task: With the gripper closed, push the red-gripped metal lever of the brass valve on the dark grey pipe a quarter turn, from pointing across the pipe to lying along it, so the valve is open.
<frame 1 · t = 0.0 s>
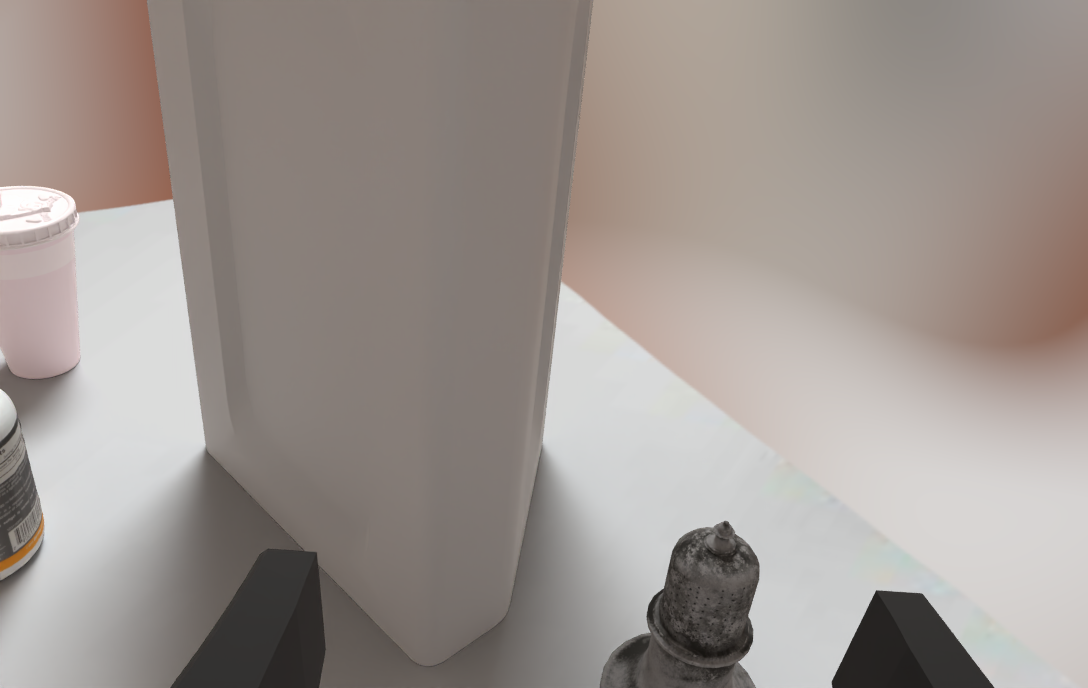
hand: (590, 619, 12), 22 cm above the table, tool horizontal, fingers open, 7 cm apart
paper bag: (423, 482, 47), on the table
smoothie: (46, 364, 53), on the table
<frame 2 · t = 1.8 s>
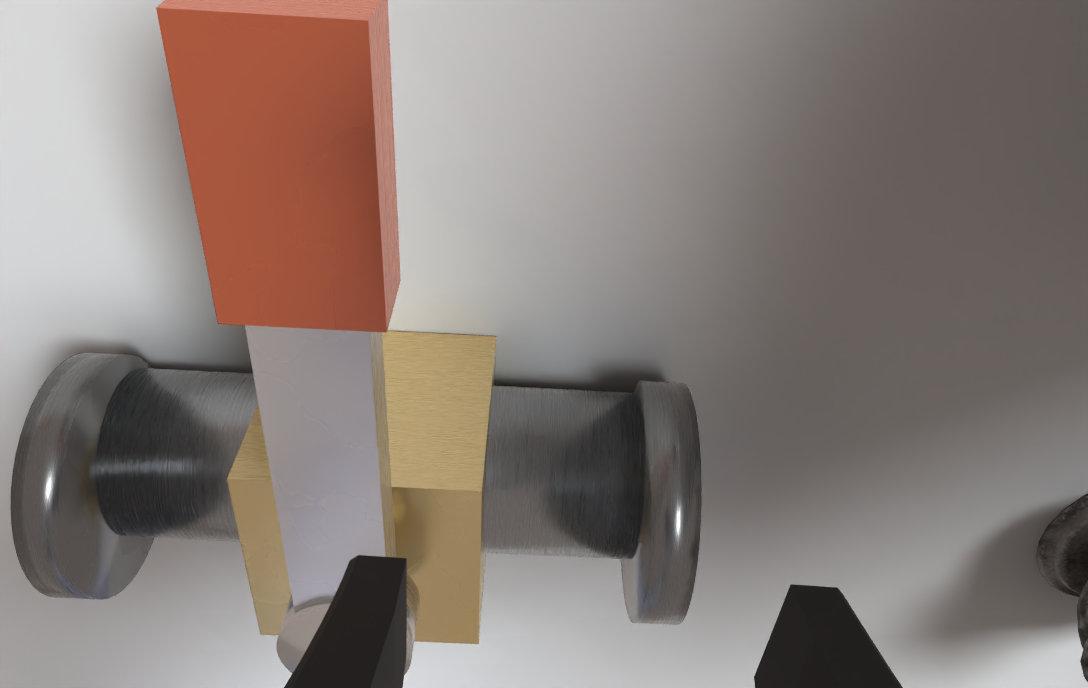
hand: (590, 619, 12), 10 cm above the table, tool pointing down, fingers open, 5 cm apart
valve lever: (327, 419, 15), point 7 cm above the table, hinge at 0.0°
valve: (397, 409, 23), on the table
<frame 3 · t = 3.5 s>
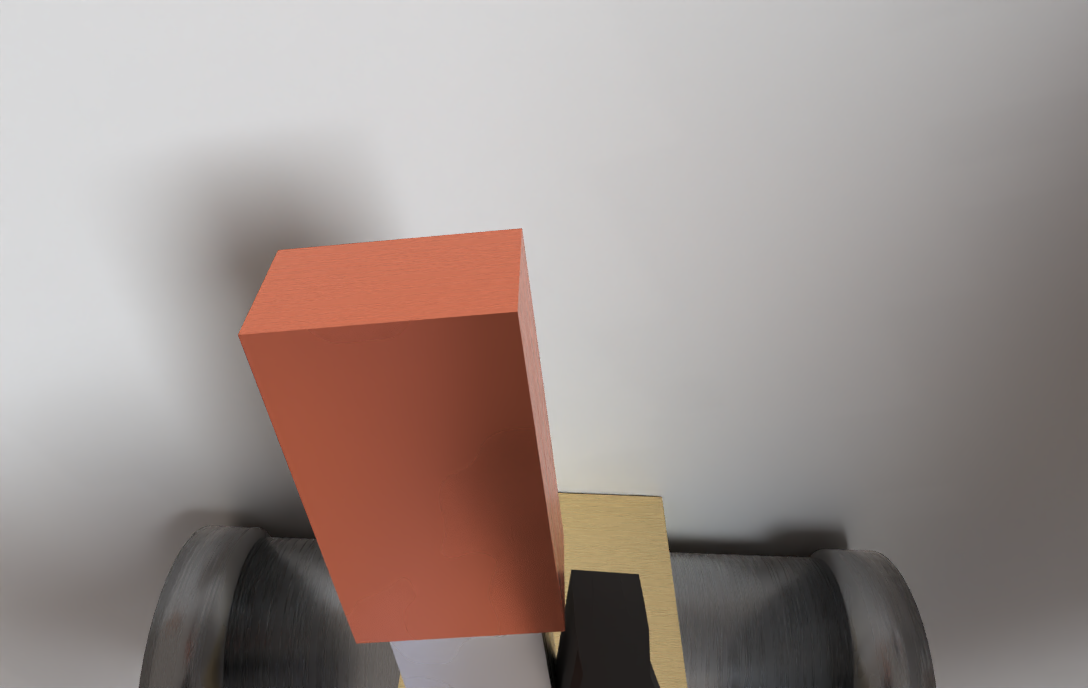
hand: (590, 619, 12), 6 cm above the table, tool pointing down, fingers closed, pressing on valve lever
valve: (540, 568, 21), on the table
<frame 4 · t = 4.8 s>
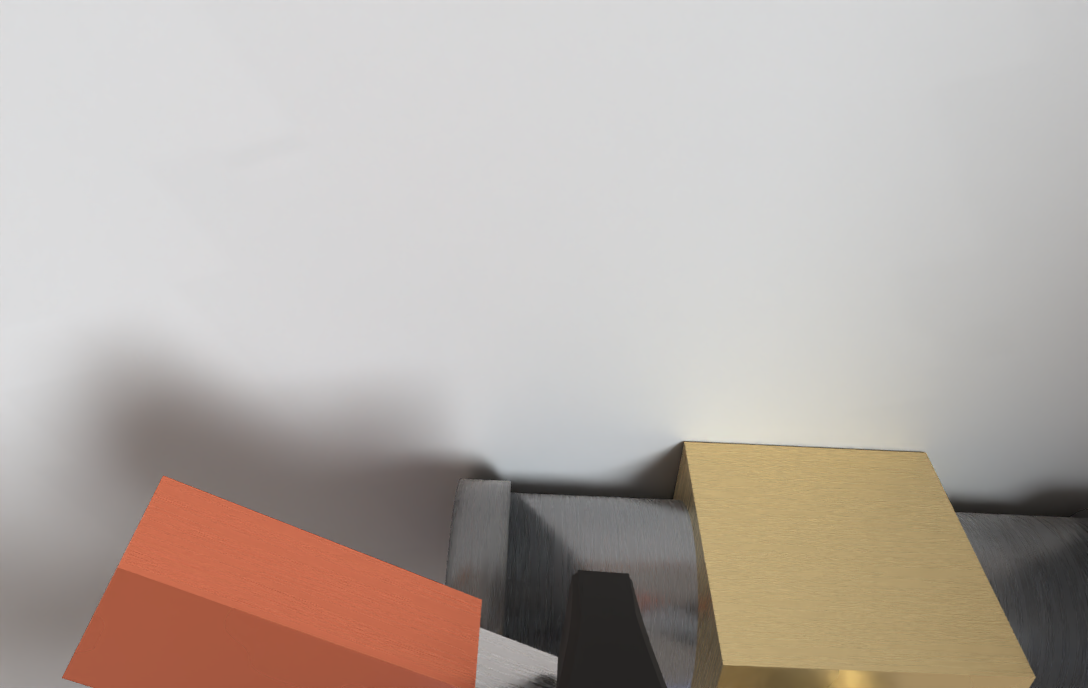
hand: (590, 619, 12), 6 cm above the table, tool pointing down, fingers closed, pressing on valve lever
valve: (780, 530, 20), on the table
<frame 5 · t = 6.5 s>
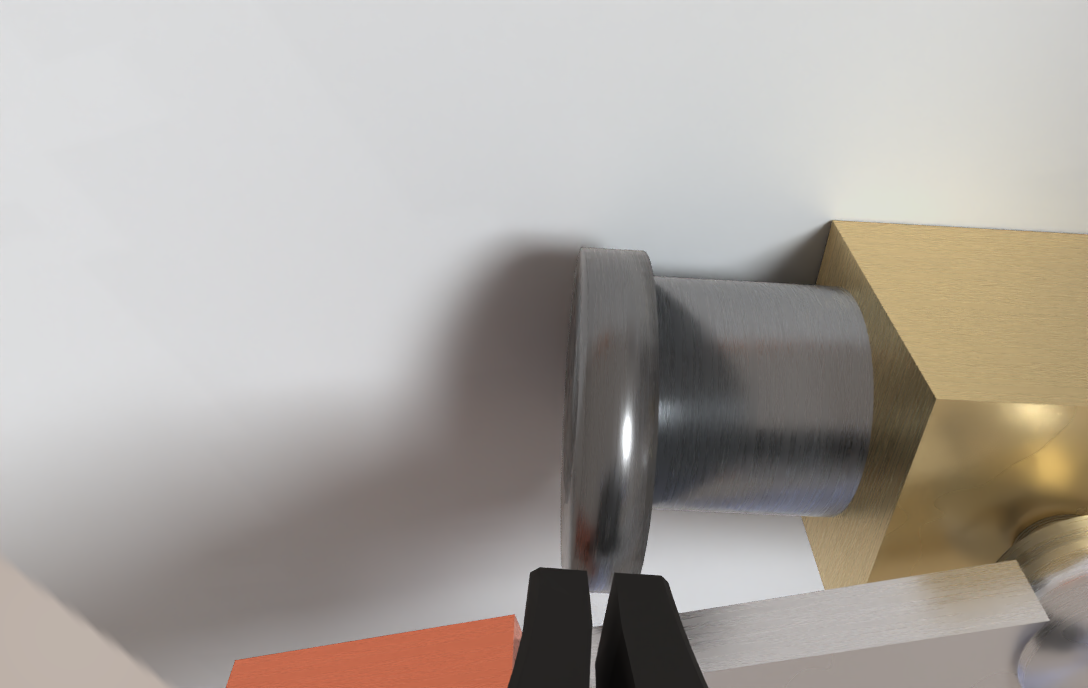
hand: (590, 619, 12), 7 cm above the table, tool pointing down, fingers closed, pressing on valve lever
valve lever: (695, 682, 13), point 7 cm above the table, hinge at 107.7°, touching gripper
valve: (929, 344, 17), on the table
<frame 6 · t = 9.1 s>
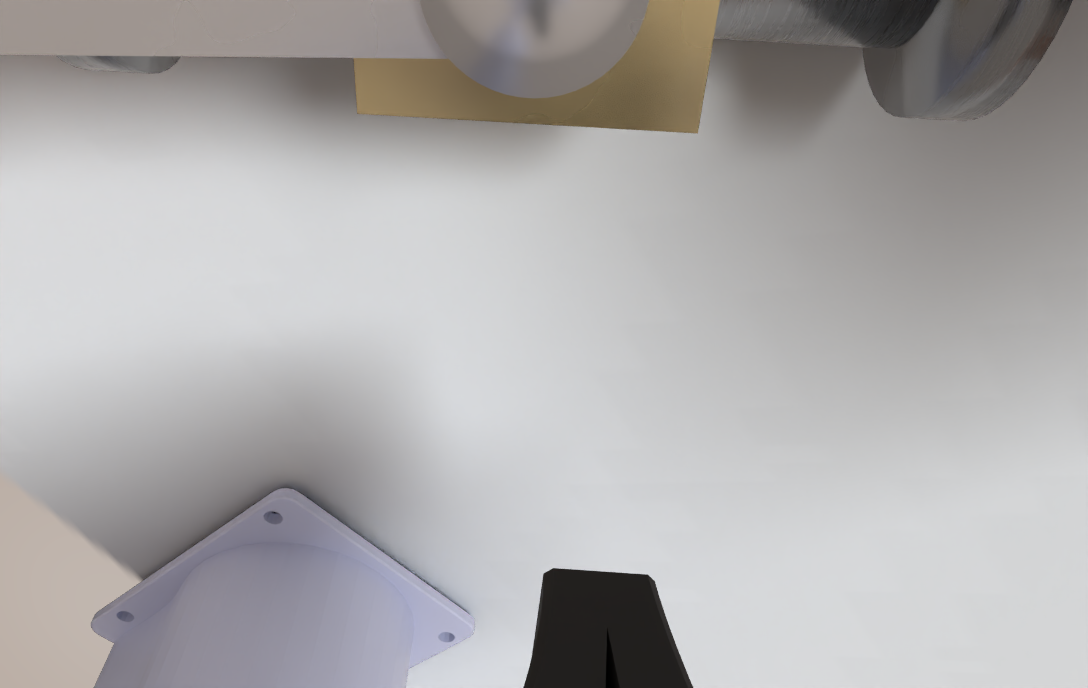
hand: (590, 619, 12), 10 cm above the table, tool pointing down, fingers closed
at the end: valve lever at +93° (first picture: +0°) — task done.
